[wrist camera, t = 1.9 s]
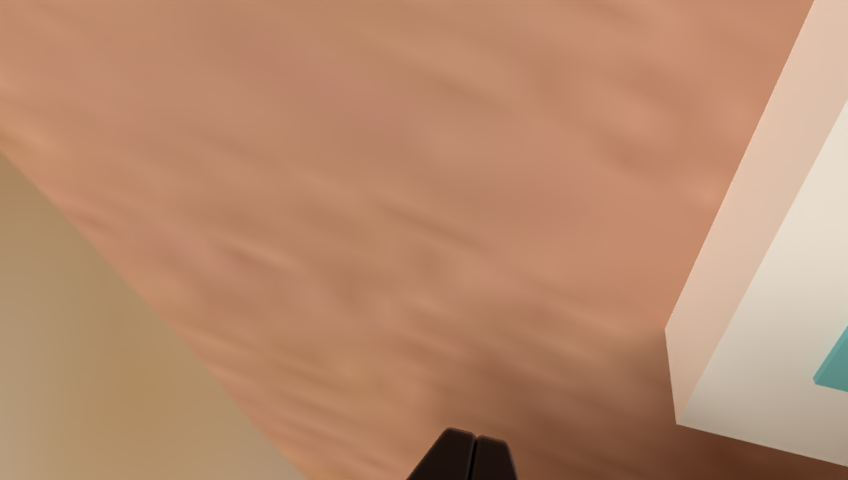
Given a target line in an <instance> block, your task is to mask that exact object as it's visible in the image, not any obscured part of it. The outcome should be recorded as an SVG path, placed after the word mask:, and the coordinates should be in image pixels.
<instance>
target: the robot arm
mask: <svg viewBox="0 0 848 480" xmlns="http://www.w3.org/2000/svg"><path fill="white" fill-rule="evenodd" d="M406 480H519V479H518V475H517V472H516V468H515V465H514V462H513V458H512V455H511V451H510V448H509V446H508V444H507V443H506V442H505V441H503V440H499V439H495V438H491V437H487V436H483V435H482V436H478V437H477V439H476V437H475V435H474V434H473V433H471V432H467V431H463V430H459V429H455V428H447V429H446V430H444V431H443V433H442V434H441V435H440V436H439V438H438V439H437V440H436V442H435V443H434V444H433V446H432V447H431V448H430V449H429V451H428V452H427V453H426V455H425V456H424V457H423V459H422V460H421V461H420V463H419V464H418V465H417V466H416V468H415V469H414V470H413V472H412V473H411V474H410V476H409V477H408V478H407V479H406Z"/></svg>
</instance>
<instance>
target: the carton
mask: <svg viewBox="0 0 848 480" xmlns="http://www.w3.org/2000/svg"><path fill="white" fill-rule="evenodd" d="M665 336H666V344H667V352H668V360H669V369H670V377H671V385H672V393H673V402H674V410H675V418H676V424H678V425H682V426H686V427H690V428H694V429H698V430H702V431H706V432H710V433H714V434H718V435H722V436H726V437H730V438H734V439H738V440H742V441H746V442H750V443H754V444H758V445H762V446H766V447H770V448H775V449H779V450H783V451H787V452H791V453H795V454H799V455H803V456H807V457H811V458H815V459H819V460H823V461H827V462H831V463H835V464H839V465H843V466H847V467H848V0H814V2H813V5H812V7H811V9H810V11H809V13H808V16H807V18H806V20H805V22H804V24H803V27H802V29H801V31H800V33H799V35H798V38H797V40H796V42H795V44H794V46H793V49H792V51H791V53H790V55H789V57H788V60H787V62H786V64H785V66H784V68H783V71H782V73H781V75H780V77H779V79H778V82H777V84H776V86H775V88H774V90H773V93H772V95H771V97H770V99H769V101H768V104H767V106H766V108H765V110H764V112H763V115H762V117H761V119H760V121H759V123H758V126H757V128H756V130H755V132H754V134H753V137H752V139H751V141H750V143H749V145H748V148H747V150H746V152H745V154H744V156H743V159H742V161H741V163H740V165H739V167H738V170H737V172H736V174H735V176H734V178H733V181H732V183H731V185H730V187H729V189H728V192H727V194H726V196H725V198H724V200H723V203H722V205H721V207H720V209H719V211H718V214H717V216H716V218H715V220H714V222H713V225H712V227H711V229H710V231H709V233H708V236H707V238H706V240H705V242H704V244H703V247H702V249H701V251H700V253H699V255H698V258H697V260H696V262H695V264H694V266H693V269H692V271H691V273H690V275H689V277H688V280H687V282H686V284H685V286H684V288H683V291H682V293H681V295H680V297H679V299H678V302H677V304H676V306H675V308H674V310H673V312H672V315H671V317H670V319H669V321H668V323H667V326H666V328H665Z"/></svg>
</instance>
